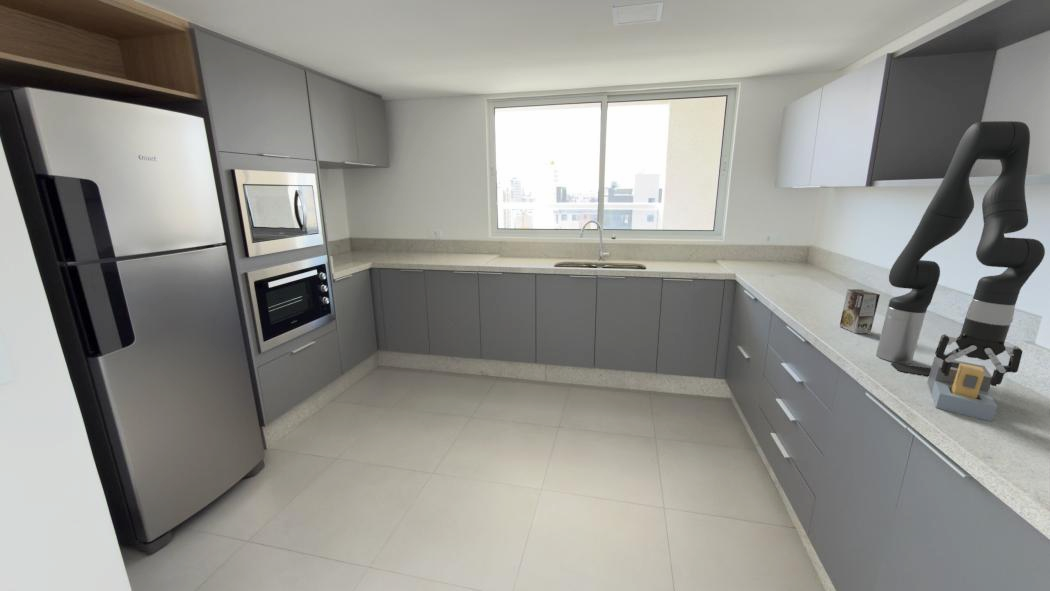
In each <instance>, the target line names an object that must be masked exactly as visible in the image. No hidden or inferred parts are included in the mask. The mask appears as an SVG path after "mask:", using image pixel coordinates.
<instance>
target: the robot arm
mask: <svg viewBox="0 0 1050 591" xmlns="http://www.w3.org/2000/svg"><path fill="white" fill-rule="evenodd" d="M1030 144H1031V130H1030V128H1029V126H1028V125H1027V123H1025V122H1023V121H1014V120H1013V121H1012V120H1011V121H1009V120H1008V121H1002V120H1001V121H1000V120H999V121H995V120H994V121H993V120H991V121H977V122H974V123H973V124H971V125H970V127H968V128H967V130H966V131H965V132H964V134H962V138H961V139H960V140H959V144H958V145H957V147H956V150H955V152H954V153H953V154H954V155H953V156H952V160H951V162H950V164H949V166H948V169H947V171H946V172H945V173H946V174H944V175H945V176H944V177H943V179H942V181H941V183H940V184H939V187H938V188H937V191H936V192H935V194H934V196H933V197H932V199H931V201H930V202H929V204H928V206H927V207H926V209H925V212H924V213H923V215H922V217H921V219H920V221H919V223H918V225H917V227H916V228H915V231H914V232H913V234H912V235H911V238H910V239H909V241H907V244H906V245H905V247H904V248H903V249H902V251H901V252H900V254H899V256H898V257H897V259H896V260H895V261H894V263H893V264H892V266H891V267H890V268H891V269H890V270H889V273H888V282H889V284H890V285H891V286H892V287H895V288H900V289H910V291H909V292H908V293H905V294H902V295H897V296H894V297H892V298H890V300H889V301H888V302H889V303H888V306H887V309H886V314H885V318H884V323H883V325H882V329H881V333H880V337H879V341H878V344H877V349H876V353H875V355H876V356H877V357H878V358H880V359H883V360H886V361H889V362H891V363H898V364H912V363H913V360H914V357H915V356H914V355H915V353H916V349H917V345H918V341H919V339H920V334H921V330H922V327H923V324H924V320H925V317H926V313H927V310H928V308H929V306H930V305H931V303H932V301H933V297H934V294H935V292H936V288H937V286H938V283H939V280H940V277H941V270H940V269H941V268H940V266H939V264H938V262H936V261H932V260H922V258H923V257H924V256H925V255H926V254H927V253H928V252H929V251H931V250H932V249H934V248H936V246H938V245H940V244H942V243H944V242H945V241H947V240H949V239H950V238H952V237H953V236H955V235H956V234H957V233H959V232H960V231H961V230H962V229H963V227H964V226H965V224H966V223H967V221H968V219H969V217H970V216H971V215H972V212H973V211H974V208H975V200H974V195H973V193H972V192H973V191H972V188H971V185H970V175H971V172H972V170H973V167H974V166H975V163H976V162H977V161H979V160H984V161H985V160H987V161H988V160H990V161H991V160H995V161H999V162H1000V164H1001V171H1000V173H999V175H998V177H997V179H996V180H995V181H994V182H993V184H992V185H991V186H990V187H989V188H988V190H987V191H986V192H985V194H984V196H983V198H982V204H981V208H982V218H983V219H982V220H983V228H982V232H981V236H980V240H979V242H978V245H977V248H976V251H975V252H976V253H975V256H976V258H977V260H978V261H979V263H981V265H983V266H986V267H994V268H995V267H996V268H1006V269H1005V270H1004V271H1002V273H1000V274H996V275H988V276H983V277H981V278H980V279H979V280H978V282H977V285H976V288H975V291H974V294H973V297H972V300H971V302H970V303H969V306H968V308H967V312H966V315H965V318H964V321H963V324H962V328H961V331H960V334H959V335H958V336H957V337H954V336H949V335H948V334H941V336H940V339H939V341H938V344H937V347H936V349H935V352H934V354H935V357H937V358H940V359H942V360H943V363H942V367H941V372H942V373H943V374H944V376H948V375H949V371H950V368H951V365H952V363H951V361H953V360H957V359H960V358H962V357H964V356H965V357H967V358H971V359H978V360H982V361H987V360H990V361H991V363H993V365H994V367H995V369H994V370H993V373H992V375H991V376H992V378H991V381H990V384H991V385H990V386H993V387H997V385H1001V384H1002V382H1003V378H1004V375H1005V374H1007V373H1013V374H1015V373H1018V372H1019V367H1020V364H1021V359H1022V357H1023V356H1022V355H1023V350H1022V349H1021V347H1019V346H1016V345H1015V346H1005V342H1006V339H1007V336H1008V333H1009V331H1010V327H1011V324H1012V323H1013V320H1014V315H1015V308H1016V304H1017V301H1018V298H1019V294H1020V291H1021V289H1022V287H1023V286H1024V285H1025V284H1026V283H1027V281H1028V280H1029V278H1030V277H1031V276H1032V275H1033V274H1034V272H1035V271H1036V270H1037V269H1038V267H1039V266H1040V265H1041V263H1042V262H1043V260H1044V257H1045V254H1046V252H1045V251H1046V249H1045V246H1044V244H1043V243H1042V242H1041V241H1040V240H1038V239H1035V238H1029V237H1028V238H1024V237H1010V236H1009V237H1007V236H1006V237H1005V235H1006V234H1012V233H1016V232H1019V231H1022V230H1023V229H1025V228H1027V226H1028V224H1029V215H1028V208H1027V202H1026V188H1025V187H1026V176H1027V169H1028V162H1029V161H1028V160H1029V152H1030V146H1031V145H1030ZM953 343H955V344H956V345H957V348H955V349H953V350H952V351H950V352H949V353H947V354H945V351H946V349H947V347H948V346H951V345H952V344H953ZM1004 352H1006V354H1007V355H1008V356H1009V360H1008V364H1007V365H1003V364H1002V362H1001V361H1000V360H999V358H998V355H1000V354H1002V353H1004Z"/></svg>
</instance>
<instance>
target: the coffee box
mask: <svg viewBox="0 0 1050 591" xmlns="http://www.w3.org/2000/svg"><path fill="white" fill-rule="evenodd" d="M845 293H846V294H845V298H844V302H843V303H844V304H843V308H842V313H841V318H840V322H839V326H841V327H843V328H842V329H844V328H845V329H844V330H846V329H848V330H847V331H849V330H850V331H849V332H851V331H852V332H851V333H853V332H854V333H853V334H857V333H870V334H871V333H872V328H873V326H874V325H873V324H874V320H875V317H876V316H875V315H876V312H877V308H878V304H879V300H880V297H881V295H880V294H879V293H876V292H873V291H868V290H866V289H862V288H861V289H858V288H857V289H855V288H854V289H851V288H850V289H848V288H847V289H846V292H845ZM841 327H840V328H841Z"/></svg>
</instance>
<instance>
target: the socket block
mask: <svg viewBox="0 0 1050 591" xmlns="http://www.w3.org/2000/svg"><path fill="white" fill-rule="evenodd" d="M933 357H934V358H933V360H932V365H931V367H930V368H931V371H930V374H929V377H928V378H927V385H928V388H929V391H930V394H931V398H932V400H933V403H934V406H935V408H937V409H940V410H944V411H949V412H951V413H956V414H960V415H964V416H968V417H973V418H977V419H980V420H985V421H989V422H993V420H994V417H995V414H996V411H997V408H998V406H997V404H996V402H995V400H994V399H993V397H992V396H991V394H990V393H989V391H990V388H991V386H992V385H991V384H990V381H991V378H992V375H991V373H990V372H989V370H988V369H987V367H986V366H985V365H981V364H976V363H971V362H967V361H961V360H957V359H955V360H953V361H951V363H952V365H951V368H950V371H949V375H948V376H944V374H943V373H942V372H941V367H942V363H943V360H942V359H940V358H937V357H936V356H933ZM960 363H962V364H967V365H972V366H977V367H982V368H983V370H984V371H985V374H984V377H983V380H982V383H981V386H980V389H979V392H978V395H977V398H976V399H974V398H970V397H966V396H961V395H957V394H952V393H951V389H952V386H953V383H954V380H955V377H956V373H957V370H958V367H959V364H960Z"/></svg>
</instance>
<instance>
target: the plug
mask: <svg viewBox="0 0 1050 591" xmlns="http://www.w3.org/2000/svg"><path fill="white" fill-rule="evenodd" d="M984 374H985V371H984V370H983V368H982V367H977V366H972V365H967V364H962V363H960V364H959V367H958V370H957V373H956V377H955V380H954V383H953V386H952V389H951V393H952V394H957V395H961V396H966V397H970V398H974V399H976V398H977V395H978V392H979V389H980V386H981V383H982V380H983V377H984Z"/></svg>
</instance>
